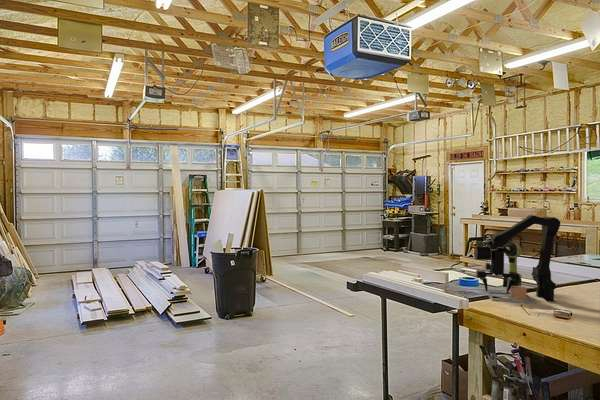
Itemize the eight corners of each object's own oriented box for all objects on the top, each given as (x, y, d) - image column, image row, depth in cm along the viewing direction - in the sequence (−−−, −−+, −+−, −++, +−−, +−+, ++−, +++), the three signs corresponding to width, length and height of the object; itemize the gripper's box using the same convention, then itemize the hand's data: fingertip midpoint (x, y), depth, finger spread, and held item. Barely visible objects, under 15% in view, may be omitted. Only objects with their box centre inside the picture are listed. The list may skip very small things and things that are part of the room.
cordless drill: (513, 295, 215) (514, 245, 215) (498, 293, 220) (499, 243, 219) (522, 287, 234) (523, 240, 233) (507, 285, 238) (508, 239, 237)
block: (523, 295, 209) (524, 286, 209) (526, 298, 204) (526, 288, 204) (510, 294, 210) (510, 285, 210) (512, 297, 206) (512, 287, 205)
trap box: (526, 298, 210) (526, 293, 210) (535, 307, 195) (535, 302, 194) (486, 295, 215) (486, 291, 215) (491, 303, 199) (492, 299, 199)
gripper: (515, 258, 215) (514, 290, 215) (474, 256, 219) (473, 287, 220) (520, 262, 204) (519, 295, 204) (477, 260, 209) (477, 292, 209)
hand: (496, 292), depth 210 cm, fingers open, 9 cm apart
